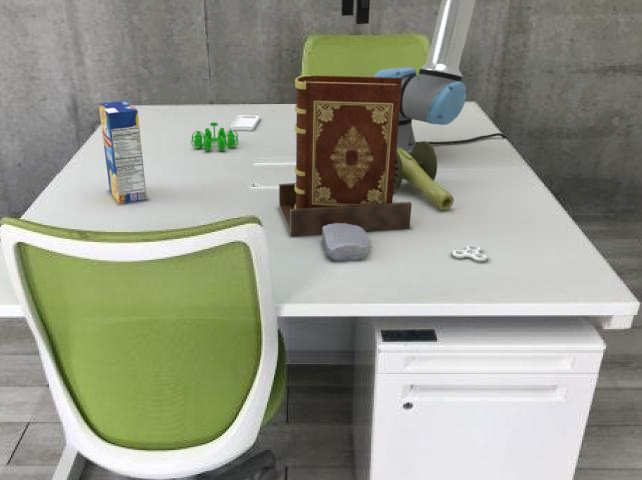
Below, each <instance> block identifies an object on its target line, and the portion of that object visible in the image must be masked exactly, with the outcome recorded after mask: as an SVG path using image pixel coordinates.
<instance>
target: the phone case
mask: <svg viewBox="0 0 642 480" xmlns="http://www.w3.org/2000/svg"><path fill="white" fill-rule="evenodd" d="M260 117H261V116H260V115H258V114H254V115H252V114H238V115H237V117H236V118H235V119H234V121H233V122H232V123H231V125H230V130H234V131H254V129H255V128H256V126H257V125H258V123H259V122H260V120H261V119H260Z"/></svg>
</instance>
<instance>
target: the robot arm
mask: <svg viewBox="0 0 642 480" xmlns="http://www.w3.org/2000/svg"><path fill="white" fill-rule="evenodd" d="M370 3H371V0H356V11H355V9H354V8H355V7H354V6H355V0H341V16H342V17H345V16H354V11H355V24H356V25H366V24H367V25H368V24H369V23H370V7H371V4H370ZM475 5H476V0H441V2H440V6H439V9H438V10H439V11H438V15H437V19H436V23H435V27H434V31H433V35H432V39H431V44H430V48H429V53H428V56H427V61H426V63H425V64H423V65H422V66H420V67H419V70H418V71H417V68H415V67H411V66H404V67H403V66H402V67H391V68H386V69H382V70H379V71H377V72H376V73H375V75H374V77H389V78H402V85H401V98H400V111H399V124H398V137H397V149H396V150H398V148H403V149H404V150H405V151H406V152H407V153H408V154H409V155H411V152H412V149H413V147H414V146H415V144H416V143H418V142H419V141H416V138H415V133H414V129H413V124H412V122H413V121H419V122H423V123H428V124H430V125H440V126H446V125H450V124H451V123H452V122H454V121H455V120H456V119H457V118H458V116H459V115H461V112H462V110H463V108H464V106H465V103H466V99H467V88H466V85H465V84H464V83H463V82H462V80H463V74H462V72H461V71H460V68H459V67H460V64H461V60H462V56H463V52H464V48H465V44H466V41H467V36H468V33H469V28H470V24H471V20H472V17H473V13H474V9H475ZM417 72H418V73H417ZM493 137H502V138H503V139H508V138H507V136H506V135H505V134H504V133H501V132H500V133H499V132H495V133H492V134H485V135H480V136H476V137H473V138H467V139H460V140H447V141H445V140H444V141H427V142H428V143H430V144H431V145H454V144H465V143H471V142H474V141H478V140H482V139H483V140H484V139H488V138H493Z"/></svg>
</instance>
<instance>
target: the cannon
mask: <svg viewBox="0 0 642 480" xmlns="http://www.w3.org/2000/svg"><path fill="white" fill-rule="evenodd" d="M417 142H418V143H416V144H415V146H414V147H413V149H412V152H411V155H409V154H408V153H407V152H406V151H405V150H404V149H403V148H398V150H396V162H395V175H394V188H393V193H395V192H397V190H399V188H400V186H401V184H402V182H403V180H404V181H405V182H407V183H408V184H410V185H411V186H413V187H414V188H415V189H416V190H418V191H420V192H421V194H423V195H424V197H425V198H426V199H427V200H428V201H429V202H430V203H432V204H433V205H434V206H435V207H436V208H437V209H438V210H440V211H447V210H448V209H450V208H451V207H452V206H453V204H454V201H455V199H454V197H453V195H452V194H451V193H450V192H449V191H448V190H447V189H446V188H444V187H443V186H442V185H440V183H438V182H437V181H435V179H436V176H437V173H438V159H437V154H436V151H435V149H434V147H433V146H432V144H430V143H428V142H429V141H426V140H422V141H417Z"/></svg>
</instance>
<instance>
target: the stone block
mask: <svg viewBox="0 0 642 480" xmlns="http://www.w3.org/2000/svg"><path fill="white" fill-rule="evenodd" d="M321 238H322V239H321V240H322V243H323V247H324V251H325V254H326V257H327V259H329V260H330V261H331V262H337V261H339V262H344V261H359V260H362V259H364V257H365V256H367V254H368V253H369V251H370V249H371V238H370V236H368V233H367V232H365V231H364V229H362V228H361V227H359V226H356V225H350V224H346V223H340V224H339V223H334V224H328V225H326V226H324V227H323V229H322V236H321Z"/></svg>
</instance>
